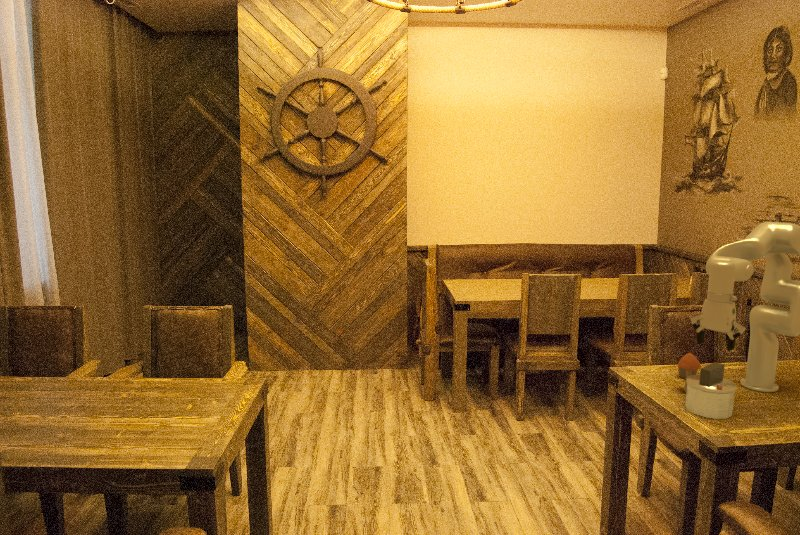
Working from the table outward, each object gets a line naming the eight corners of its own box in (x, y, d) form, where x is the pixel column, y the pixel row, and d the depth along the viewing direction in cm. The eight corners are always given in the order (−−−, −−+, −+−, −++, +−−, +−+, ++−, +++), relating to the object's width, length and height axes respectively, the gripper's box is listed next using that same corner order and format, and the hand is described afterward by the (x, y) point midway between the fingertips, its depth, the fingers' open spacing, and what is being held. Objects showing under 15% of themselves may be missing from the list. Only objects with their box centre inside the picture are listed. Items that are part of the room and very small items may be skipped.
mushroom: (672, 386, 230) (676, 348, 227) (695, 388, 228) (699, 350, 225) (677, 394, 222) (681, 355, 219) (701, 396, 220) (705, 356, 218)
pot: (696, 399, 217) (699, 375, 216) (738, 411, 207) (741, 386, 205) (678, 409, 208) (680, 384, 207) (720, 422, 198) (723, 396, 196)
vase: (698, 381, 236) (700, 359, 234) (679, 379, 237) (681, 358, 236) (693, 375, 242) (695, 354, 241) (675, 374, 244) (677, 353, 242)
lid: (697, 378, 217) (700, 356, 215) (743, 391, 205) (745, 367, 204) (677, 388, 207) (680, 365, 206) (724, 401, 196) (726, 377, 194)
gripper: (752, 300, 197) (747, 350, 200) (698, 291, 210) (694, 338, 213) (742, 303, 192) (737, 355, 195) (688, 294, 205) (684, 343, 208)
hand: (715, 346), depth 204 cm, fingers open, 9 cm apart
